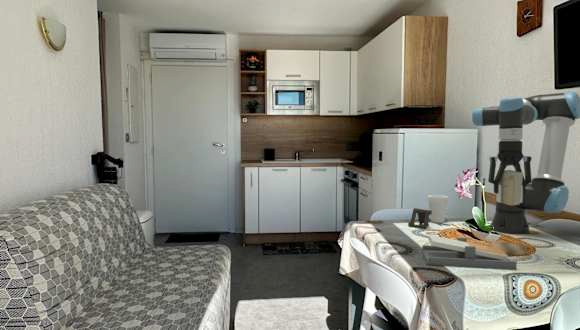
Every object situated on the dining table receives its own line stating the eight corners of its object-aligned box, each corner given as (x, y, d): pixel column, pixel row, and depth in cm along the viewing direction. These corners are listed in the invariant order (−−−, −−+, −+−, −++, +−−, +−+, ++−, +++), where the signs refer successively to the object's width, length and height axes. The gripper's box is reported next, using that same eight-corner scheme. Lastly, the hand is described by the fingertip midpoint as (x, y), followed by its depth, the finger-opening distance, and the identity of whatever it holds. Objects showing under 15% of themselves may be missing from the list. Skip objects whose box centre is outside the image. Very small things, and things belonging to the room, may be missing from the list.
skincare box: (497, 201, 141) (499, 170, 139) (506, 200, 142) (508, 169, 140) (511, 206, 135) (514, 173, 133) (521, 204, 136) (523, 172, 134)
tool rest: (519, 246, 144) (519, 242, 144) (532, 256, 132) (532, 252, 132) (485, 245, 147) (485, 241, 147) (495, 254, 135) (495, 250, 135)
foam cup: (448, 220, 191) (449, 195, 190) (445, 224, 184) (446, 198, 183) (429, 218, 196) (429, 194, 196) (425, 222, 189) (426, 196, 188)
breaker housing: (500, 255, 134) (500, 238, 134) (516, 269, 120) (516, 250, 119) (422, 251, 140) (422, 235, 139) (428, 264, 125) (428, 246, 125)
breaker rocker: (497, 252, 132) (499, 247, 131) (507, 261, 123) (508, 255, 123) (427, 238, 136) (428, 233, 136) (431, 245, 127) (432, 240, 127)
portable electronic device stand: (407, 226, 180) (407, 209, 179) (416, 224, 185) (416, 207, 185) (424, 229, 174) (425, 212, 173) (432, 226, 179) (433, 209, 178)
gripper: (484, 141, 135) (483, 203, 137) (544, 139, 131) (542, 204, 133) (478, 140, 142) (478, 200, 144) (535, 139, 138) (533, 200, 140)
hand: (509, 201), depth 138 cm, fingers closed on skincare box, 6 cm apart
